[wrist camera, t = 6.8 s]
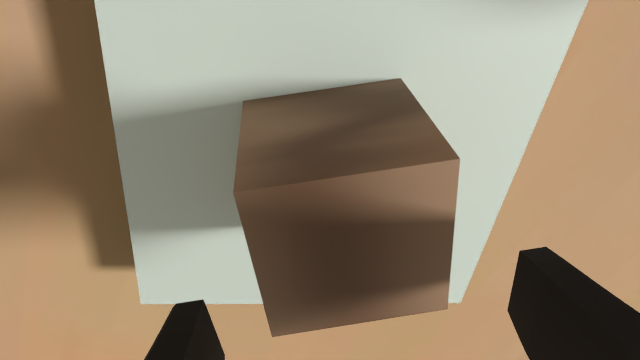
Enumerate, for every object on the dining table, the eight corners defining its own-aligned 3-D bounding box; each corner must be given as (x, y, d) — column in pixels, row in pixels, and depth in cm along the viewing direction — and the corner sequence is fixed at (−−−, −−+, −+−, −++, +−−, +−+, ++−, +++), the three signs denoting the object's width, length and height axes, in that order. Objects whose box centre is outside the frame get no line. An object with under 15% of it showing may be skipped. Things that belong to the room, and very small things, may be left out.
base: (553, -41, 15) (601, -31, 12) (441, 264, 22) (460, 303, 20) (110, -98, 12) (79, -97, 10) (153, 261, 20) (140, 303, 18)
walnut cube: (400, 78, 14) (459, 158, 10) (401, 204, 16) (447, 308, 12) (242, 100, 14) (232, 192, 9) (270, 224, 16) (272, 337, 12)
